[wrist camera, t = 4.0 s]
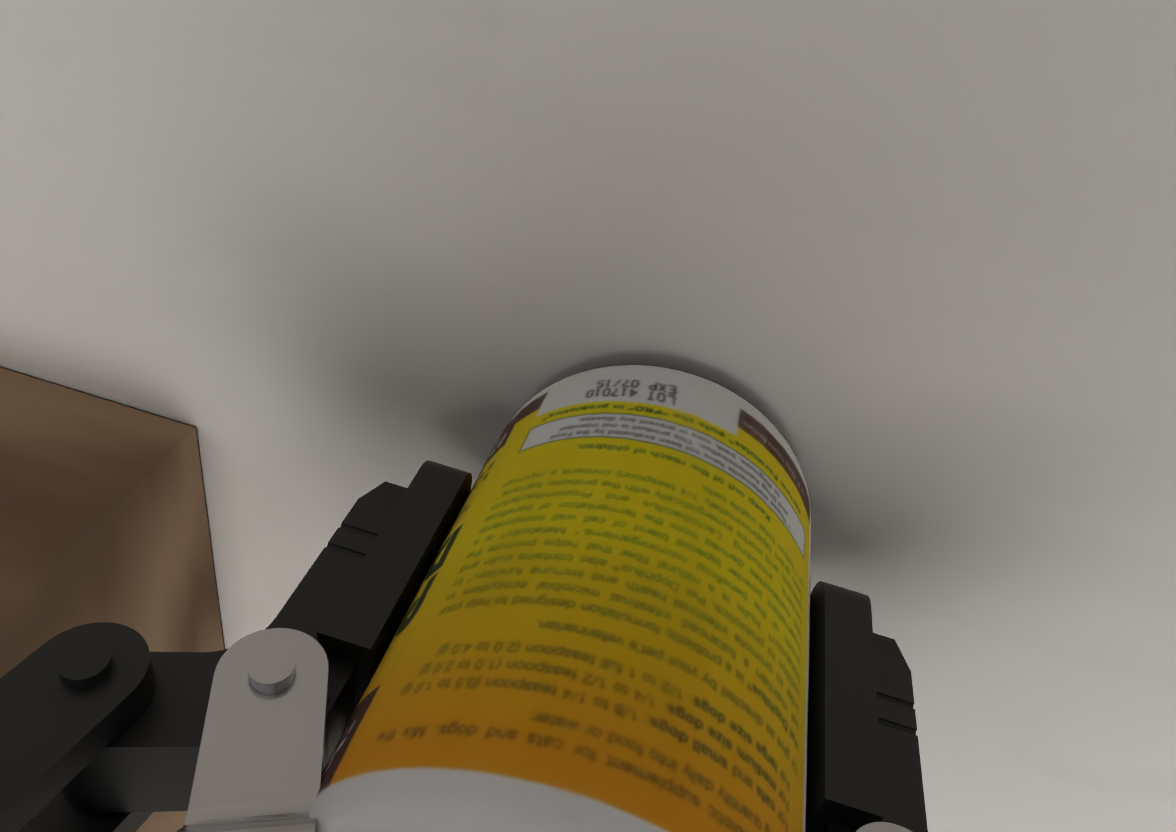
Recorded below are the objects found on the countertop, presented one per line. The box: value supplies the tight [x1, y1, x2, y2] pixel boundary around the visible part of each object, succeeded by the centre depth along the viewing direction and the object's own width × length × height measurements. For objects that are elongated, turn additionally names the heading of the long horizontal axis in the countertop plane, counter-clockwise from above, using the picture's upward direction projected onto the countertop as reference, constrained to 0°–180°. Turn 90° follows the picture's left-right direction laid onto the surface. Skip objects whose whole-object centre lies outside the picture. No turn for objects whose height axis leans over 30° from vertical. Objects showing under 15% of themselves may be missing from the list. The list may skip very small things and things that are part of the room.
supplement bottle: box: [309, 365, 811, 832], centre depth 11 cm, size 6×6×10 cm
